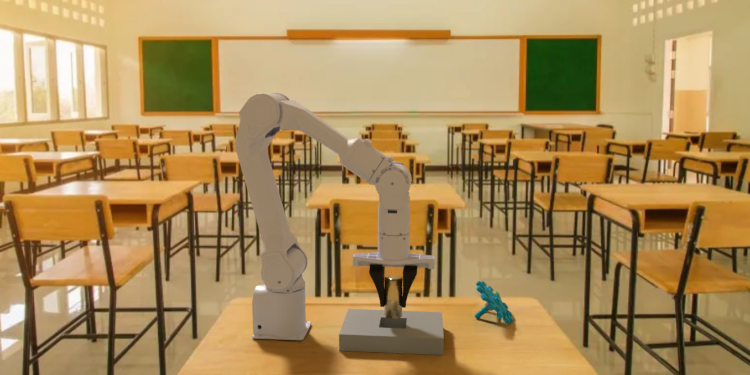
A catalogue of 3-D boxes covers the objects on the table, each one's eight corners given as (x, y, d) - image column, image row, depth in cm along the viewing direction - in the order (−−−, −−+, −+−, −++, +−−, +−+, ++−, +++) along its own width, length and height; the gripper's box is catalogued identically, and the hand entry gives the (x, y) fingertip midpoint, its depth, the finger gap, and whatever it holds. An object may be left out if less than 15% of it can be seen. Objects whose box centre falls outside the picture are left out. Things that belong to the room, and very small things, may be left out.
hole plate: (339, 350, 102) (339, 334, 102) (348, 323, 114) (348, 308, 113) (443, 355, 100) (443, 338, 100) (441, 327, 112) (442, 312, 112)
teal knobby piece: (513, 325, 109) (477, 283, 111) (489, 343, 111) (454, 302, 113) (519, 312, 120) (486, 274, 122) (497, 329, 121) (465, 291, 123)
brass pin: (383, 318, 105) (384, 280, 104) (385, 312, 108) (385, 275, 107) (401, 319, 105) (402, 281, 104) (402, 312, 108) (402, 275, 107)
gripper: (434, 227, 107) (433, 298, 109) (355, 225, 108) (356, 296, 111) (435, 237, 100) (433, 312, 102) (350, 235, 101) (351, 310, 104)
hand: (393, 305), depth 106 cm, fingers closed on brass pin, 3 cm apart
